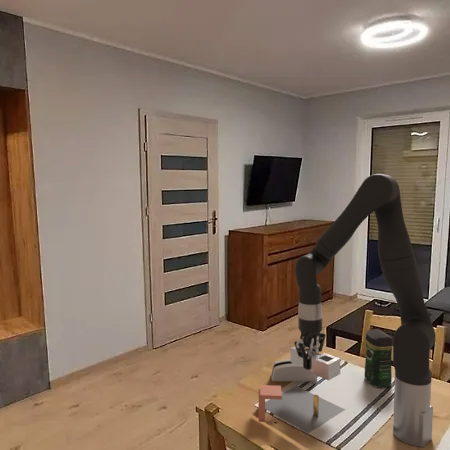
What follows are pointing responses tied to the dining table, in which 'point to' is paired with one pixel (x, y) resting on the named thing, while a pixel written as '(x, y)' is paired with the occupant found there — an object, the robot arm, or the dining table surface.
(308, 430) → the board
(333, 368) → the grey long bar
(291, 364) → the grey arched slotted block
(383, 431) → the dining table surface
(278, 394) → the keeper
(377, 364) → the coffee jar
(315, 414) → the knob
